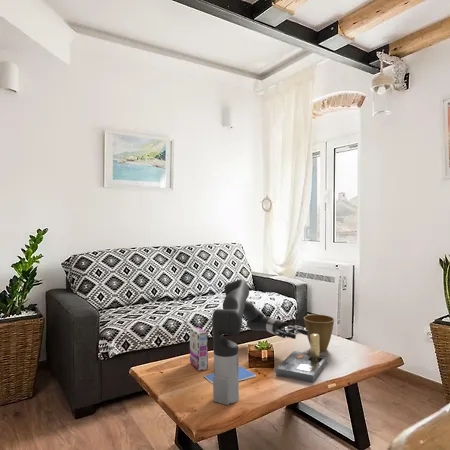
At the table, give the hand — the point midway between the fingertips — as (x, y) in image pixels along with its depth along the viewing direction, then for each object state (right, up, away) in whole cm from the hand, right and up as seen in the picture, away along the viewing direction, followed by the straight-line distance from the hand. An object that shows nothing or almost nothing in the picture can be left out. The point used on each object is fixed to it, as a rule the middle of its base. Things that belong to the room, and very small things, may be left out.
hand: (301, 334), depth 179 cm
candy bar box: (-48, -13, -5) cm, 50 cm away
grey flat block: (-1, -12, -10) cm, 16 cm away
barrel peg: (+5, -12, -6) cm, 15 cm away
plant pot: (+12, -12, +15) cm, 22 cm away
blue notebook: (-34, -14, -17) cm, 40 cm away
